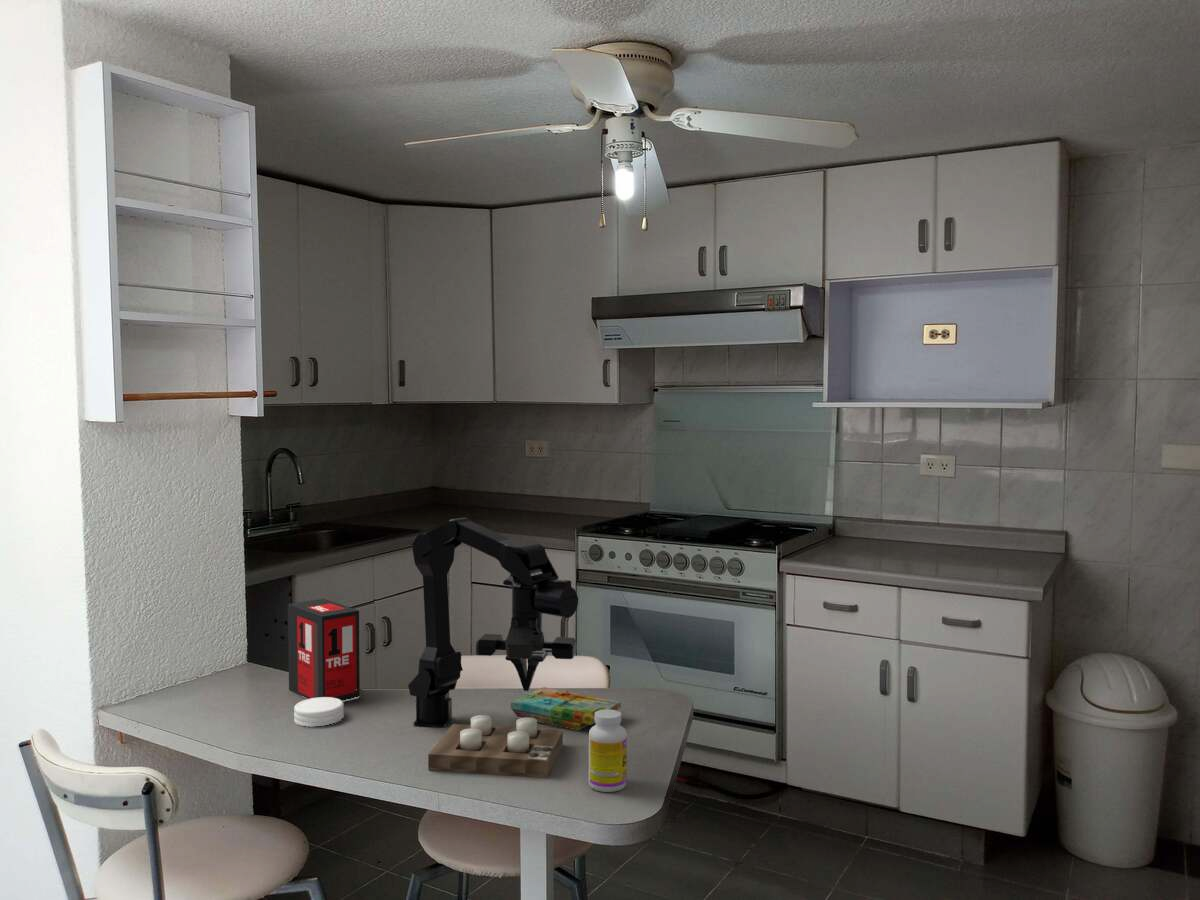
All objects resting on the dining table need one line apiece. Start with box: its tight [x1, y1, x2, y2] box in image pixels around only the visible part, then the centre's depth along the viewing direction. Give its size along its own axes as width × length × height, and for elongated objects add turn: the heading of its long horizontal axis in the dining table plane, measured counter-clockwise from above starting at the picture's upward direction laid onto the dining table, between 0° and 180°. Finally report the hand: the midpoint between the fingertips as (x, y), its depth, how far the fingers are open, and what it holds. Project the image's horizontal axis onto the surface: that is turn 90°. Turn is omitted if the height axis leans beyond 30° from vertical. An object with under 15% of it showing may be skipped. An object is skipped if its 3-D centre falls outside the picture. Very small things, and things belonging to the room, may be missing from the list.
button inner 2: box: [515, 717, 538, 738], centre depth 182 cm, size 4×4×3 cm
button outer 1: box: [460, 728, 482, 750], centre depth 176 cm, size 4×4×3 cm
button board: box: [427, 723, 564, 778], centre depth 178 cm, size 22×16×3 cm
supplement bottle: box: [588, 709, 628, 793], centre depth 165 cm, size 7×7×13 cm
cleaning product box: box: [287, 598, 361, 701], centre depth 215 cm, size 16×9×20 cm, turn 43°
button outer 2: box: [507, 731, 529, 753], centre depth 175 cm, size 4×4×3 cm
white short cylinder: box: [293, 697, 345, 728], centre depth 199 cm, size 10×10×4 cm
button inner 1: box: [470, 714, 493, 736], centre depth 184 cm, size 4×4×3 cm
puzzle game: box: [510, 686, 622, 731], centre depth 200 cm, size 12×5×20 cm
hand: (526, 690), depth 182 cm, fingers closed
